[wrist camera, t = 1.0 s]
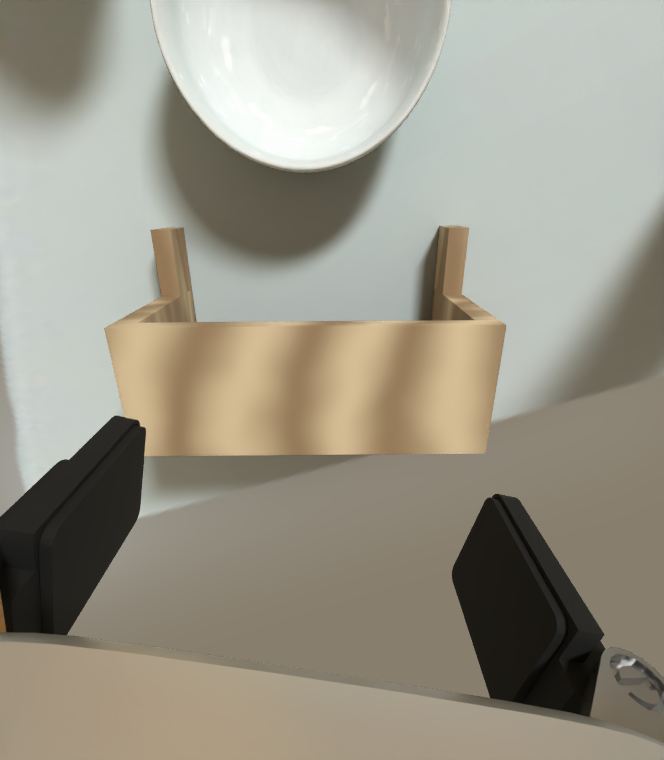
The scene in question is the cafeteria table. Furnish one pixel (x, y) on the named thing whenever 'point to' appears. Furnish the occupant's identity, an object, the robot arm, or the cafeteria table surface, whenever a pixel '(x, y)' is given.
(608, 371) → the cafeteria table surface
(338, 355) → the wooden step block
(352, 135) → the cereal bowl
